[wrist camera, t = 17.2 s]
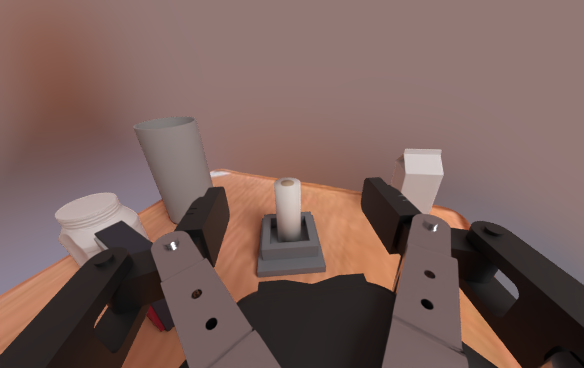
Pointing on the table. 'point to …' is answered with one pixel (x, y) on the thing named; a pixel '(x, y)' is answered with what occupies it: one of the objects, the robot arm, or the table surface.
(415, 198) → the milk carton
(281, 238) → the paper roll
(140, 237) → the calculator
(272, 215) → the roll holder
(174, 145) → the cylinder vase
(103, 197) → the jar
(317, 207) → the table surface
